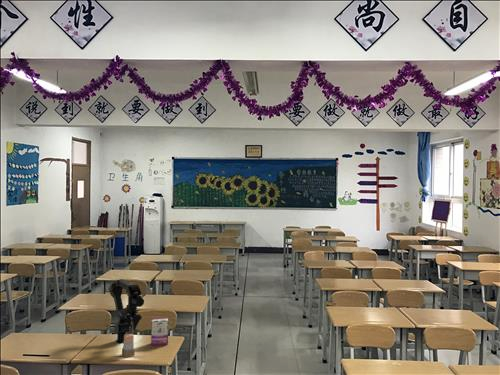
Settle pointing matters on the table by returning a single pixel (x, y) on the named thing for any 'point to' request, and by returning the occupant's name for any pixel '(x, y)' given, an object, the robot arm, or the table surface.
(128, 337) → the terracotta cube
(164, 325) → the candy bar box
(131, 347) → the slate block
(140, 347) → the table surface
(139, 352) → the table surface
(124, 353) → the walnut base block
